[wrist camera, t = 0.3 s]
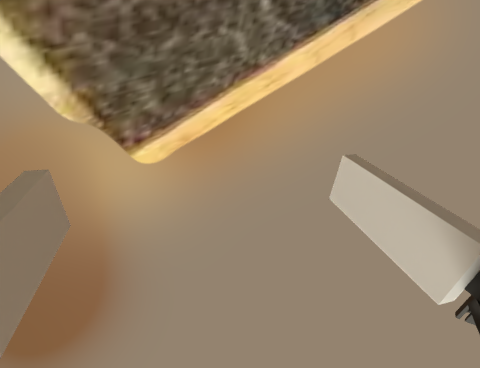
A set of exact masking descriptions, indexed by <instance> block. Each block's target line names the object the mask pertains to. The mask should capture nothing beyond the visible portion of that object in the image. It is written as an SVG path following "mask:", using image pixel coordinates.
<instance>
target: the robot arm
mask: <svg viewBox="0 0 480 368" xmlns="http://www.w3.org/2000/svg"><path fill="white" fill-rule="evenodd" d="M330 200H331V201H332V202H333V203H334V204H335V205H336V206H337V207H338V208H340V209H341V211H342V212H343V213H345V214H346V215H347V216H348V217H349V218H350V219H351V220H352V221H353V222H354V223H355V224H356V225H357V226H358V227H359V228H360V229H361V230H362V231H363V232H364V233H365V234H366V235H367V236H368V237H369V238H370V239H371V240H372V241H373V242H374V243H375V244H376V245H377V246H378V247H380V249H381V250H383V251H384V252H385V253H386V254H387V255H388V256H389V257H390V258H391V259H392V260H393V261H394V262H395V263H396V264H397V265H398V266H399V267H400V268H401V269H402V270H403V271H404V272H405V273H406V274H407V275H408V276H409V277H410V278H411V279H412V280H413V281H414V282H415V283H416V284H417V285H418V286H419V287H420V288H421V289H423V291H425V292H426V293H427V294H428V295H429V296H430V297H431V298H432V299H433V300H434V301H435V302H436V303H437V304H438V305H440V304H443V303H447V302H451V301H454V300H455V299H456V298H457V297H458V296H459V295H460V294H461V292H462V291H463V290H464V289H465V290H466V291H468V292H469V293H470V294H471V296H470V297H469V298H468V299H467V300H466V301H465V303H464V304H463V305H462V306H461V307H460V308H459V309H458V310H457V311H456V313H455V315H456V318H458V319H460V318H461V317H462V316H463V315H464V314H465V313H466V312H469V313H470V314H469V315H468V316H467V317H466V319H465V321H466V322H468V323H471V324H474V325H476V327H477V329H478V331H479V333H480V229H478V228H477V227H475V226H473V225H472V224H470V223H468V222H467V221H465V220H463V219H462V218H460V217H458V216H457V215H455V214H453V213H452V212H450V211H448V210H447V209H445V208H443V207H442V206H440V205H438V204H437V203H435V202H433V201H431V200H430V199H428V198H427V197H425V196H423V195H422V194H420V193H419V192H417V191H415V190H414V189H412V188H410V187H409V186H407V185H405V184H403V183H402V182H400V181H398V180H397V179H395V178H394V177H392V176H390V175H389V174H387V173H385V172H384V171H382V170H380V169H379V168H377V167H375V166H374V165H372V164H370V163H369V162H367V161H365V160H364V159H362V158H361V157H359V156H357V155H355V154H354V155H343V157H342V160H341V163H340V166H339V169H338V173H337V176H336V179H335V182H334V185H333V189H332V192H331V195H330ZM69 227H70V223H69V220H68V218H67V215H66V213H65V210H64V208H63V205H62V202H61V200H60V197H59V195H58V192H57V190H56V187H55V185H54V182H53V179H52V177H51V174H50V172H49V170H34V171H24V172H23V173H22V174H21V175H20V176H19V177H17V178H16V179H15V180H14V181H13V182H12V183H11V184H10V185H9V186H7V187H6V188H5V189H4V190H3V191H2V192H1V193H0V358H1V356H2V354H3V352H4V351H5V349H6V347H7V345H8V343H9V341H10V339H11V337H12V335H13V333H14V332H15V330H16V327H17V326H18V324H19V322H20V320H21V318H22V317H23V315H24V313H25V311H26V309H27V307H28V305H29V303H30V301H31V299H32V298H33V296H34V294H35V292H36V290H37V288H38V286H39V284H40V282H41V281H42V279H43V277H44V275H45V273H46V271H47V269H48V267H49V265H50V263H51V262H52V260H53V258H54V256H55V254H56V252H57V250H58V248H59V246H60V244H61V242H62V241H63V238H64V237H65V235H66V233H67V231H68V229H69Z"/></svg>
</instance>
